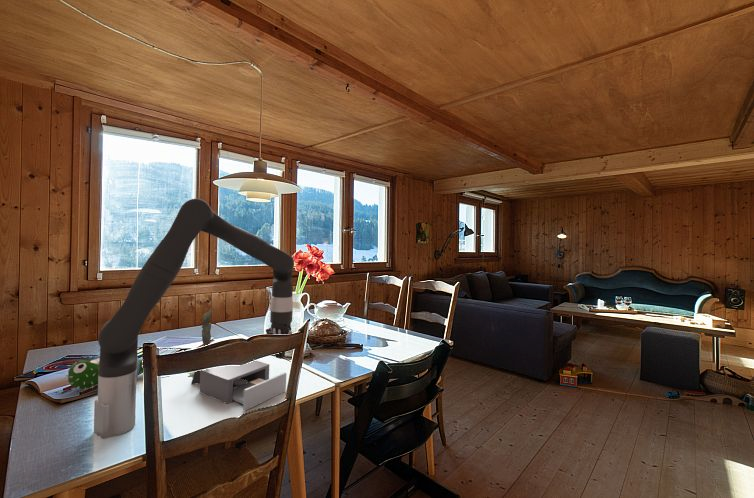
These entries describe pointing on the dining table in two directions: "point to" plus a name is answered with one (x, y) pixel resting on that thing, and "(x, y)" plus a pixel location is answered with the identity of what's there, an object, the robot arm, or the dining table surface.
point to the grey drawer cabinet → (230, 379)
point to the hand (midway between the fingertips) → (279, 357)
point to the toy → (89, 373)
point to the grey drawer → (259, 391)
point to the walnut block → (256, 382)
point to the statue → (204, 340)
